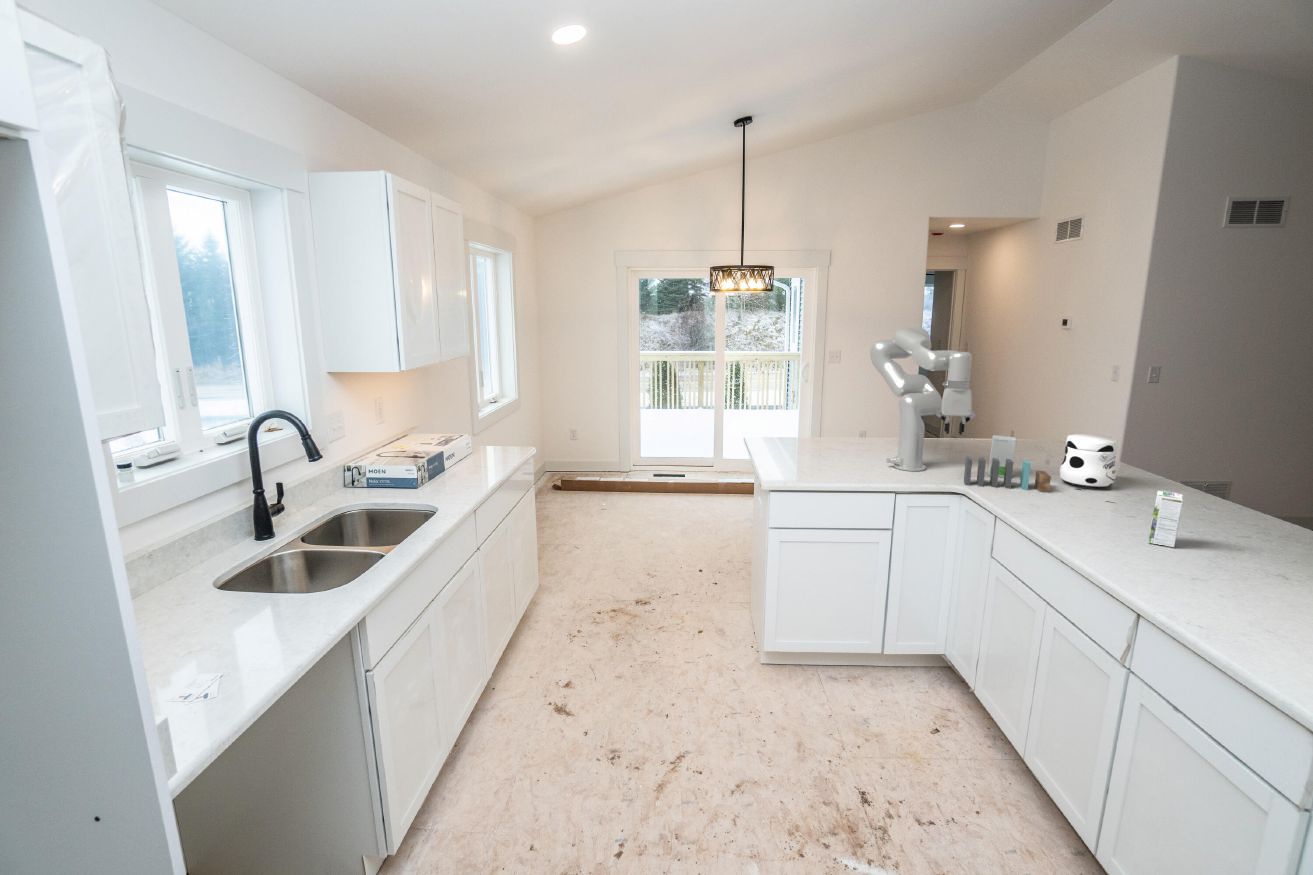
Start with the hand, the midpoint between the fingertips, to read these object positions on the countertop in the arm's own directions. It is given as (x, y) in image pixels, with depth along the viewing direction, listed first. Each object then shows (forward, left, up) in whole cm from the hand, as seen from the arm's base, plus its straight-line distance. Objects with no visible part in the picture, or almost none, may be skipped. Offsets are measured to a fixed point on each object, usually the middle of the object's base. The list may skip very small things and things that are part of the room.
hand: (953, 433), depth 232 cm
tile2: (+10, -4, -19) cm, 22 cm away
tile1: (+6, -2, -19) cm, 20 cm away
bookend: (+29, -11, -19) cm, 36 cm away
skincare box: (+25, +9, -19) cm, 33 cm away
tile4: (+18, -7, -19) cm, 27 cm away
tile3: (+14, -5, -19) cm, 24 cm away
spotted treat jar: (+49, -6, -20) cm, 53 cm away
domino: (+24, -9, -19) cm, 32 cm away
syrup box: (+30, -65, -19) cm, 74 cm away
